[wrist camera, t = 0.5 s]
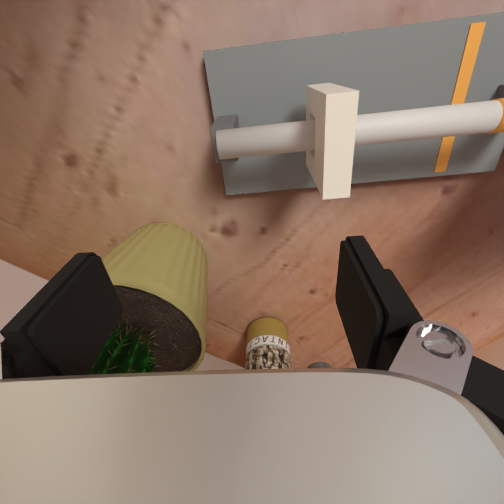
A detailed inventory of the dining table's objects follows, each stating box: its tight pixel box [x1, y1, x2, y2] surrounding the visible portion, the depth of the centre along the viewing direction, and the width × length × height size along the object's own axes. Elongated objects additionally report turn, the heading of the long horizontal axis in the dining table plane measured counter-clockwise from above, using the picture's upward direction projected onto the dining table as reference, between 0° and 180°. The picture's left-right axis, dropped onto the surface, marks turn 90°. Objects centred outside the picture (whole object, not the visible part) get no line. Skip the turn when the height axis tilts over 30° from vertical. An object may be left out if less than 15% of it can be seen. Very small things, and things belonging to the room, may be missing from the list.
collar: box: [306, 83, 359, 200], centre depth 23 cm, size 7×2×9 cm, turn 6°
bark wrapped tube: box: [245, 317, 292, 370], centre depth 38 cm, size 7×7×25 cm
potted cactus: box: [89, 223, 207, 375], centre depth 28 cm, size 15×15×30 cm
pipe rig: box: [203, 12, 504, 195], centre depth 26 cm, size 14×30×9 cm, turn 96°
